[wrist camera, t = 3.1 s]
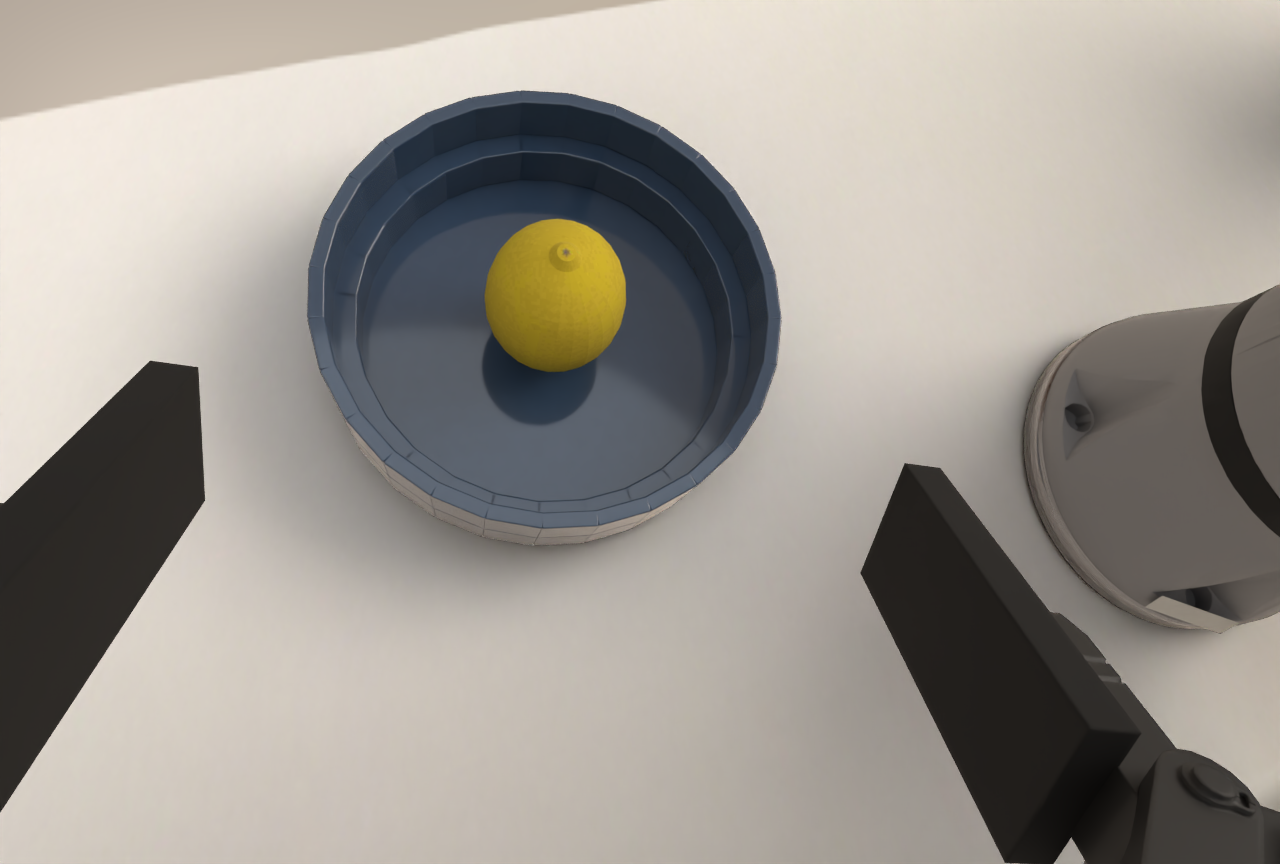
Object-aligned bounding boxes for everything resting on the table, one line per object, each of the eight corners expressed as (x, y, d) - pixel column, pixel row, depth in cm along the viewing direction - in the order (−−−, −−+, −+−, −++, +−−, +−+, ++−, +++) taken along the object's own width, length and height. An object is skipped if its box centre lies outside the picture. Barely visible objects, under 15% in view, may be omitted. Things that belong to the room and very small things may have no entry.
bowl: (620, 105, 41) (639, 36, 37) (817, 425, 39) (863, 393, 34) (253, 246, 36) (222, 184, 31) (453, 629, 33) (451, 622, 29)
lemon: (473, 287, 37) (474, 189, 29) (595, 272, 38) (626, 175, 31) (494, 405, 36) (502, 335, 28) (620, 386, 37) (659, 314, 30)
